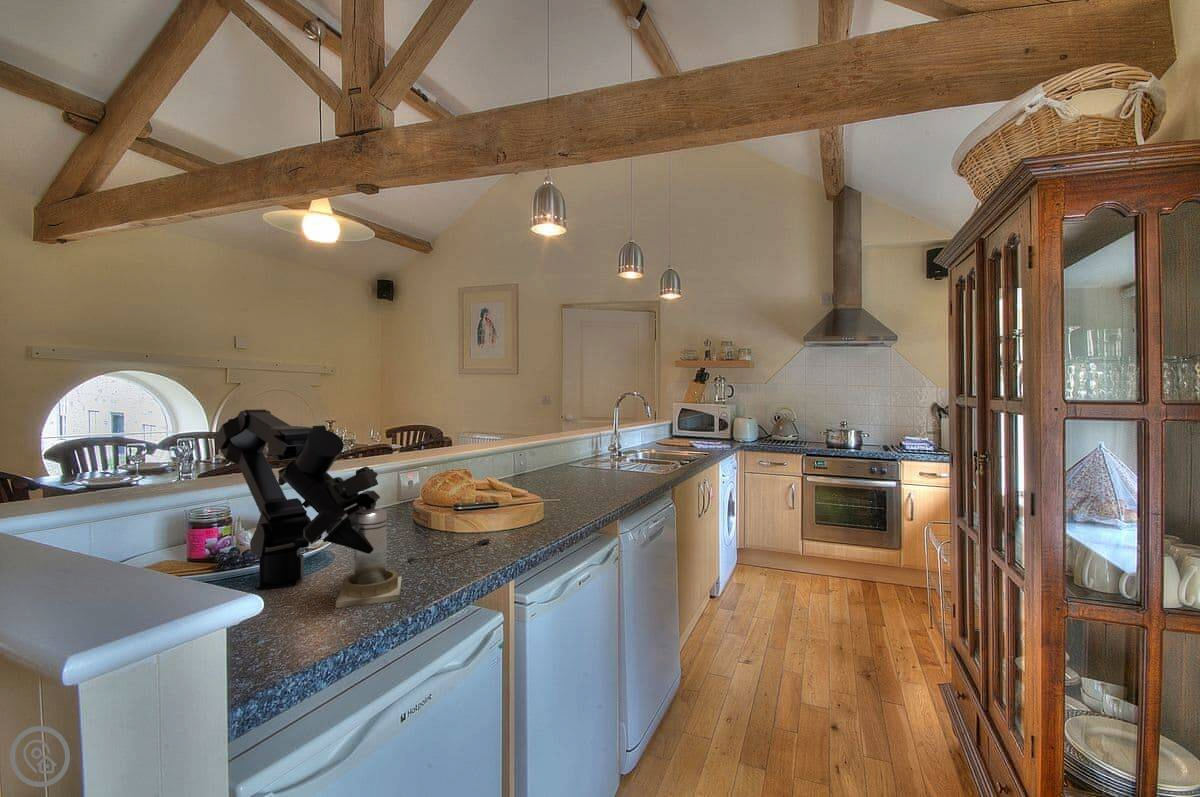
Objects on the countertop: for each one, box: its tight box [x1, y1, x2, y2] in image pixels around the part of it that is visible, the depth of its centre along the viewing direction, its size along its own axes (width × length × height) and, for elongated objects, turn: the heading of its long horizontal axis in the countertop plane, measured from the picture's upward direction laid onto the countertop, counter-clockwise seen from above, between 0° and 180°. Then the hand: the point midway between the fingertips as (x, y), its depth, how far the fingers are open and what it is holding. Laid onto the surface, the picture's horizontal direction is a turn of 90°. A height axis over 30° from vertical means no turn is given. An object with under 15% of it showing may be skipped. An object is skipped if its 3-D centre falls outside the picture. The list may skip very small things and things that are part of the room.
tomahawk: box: [407, 538, 491, 563], centre depth 119 cm, size 21×7×1 cm, turn 138°
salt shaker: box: [353, 508, 388, 585], centre depth 95 cm, size 5×5×13 cm
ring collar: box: [335, 568, 403, 609], centre depth 95 cm, size 10×10×3 cm
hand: (378, 547), depth 95 cm, fingers closed on salt shaker, 5 cm apart
